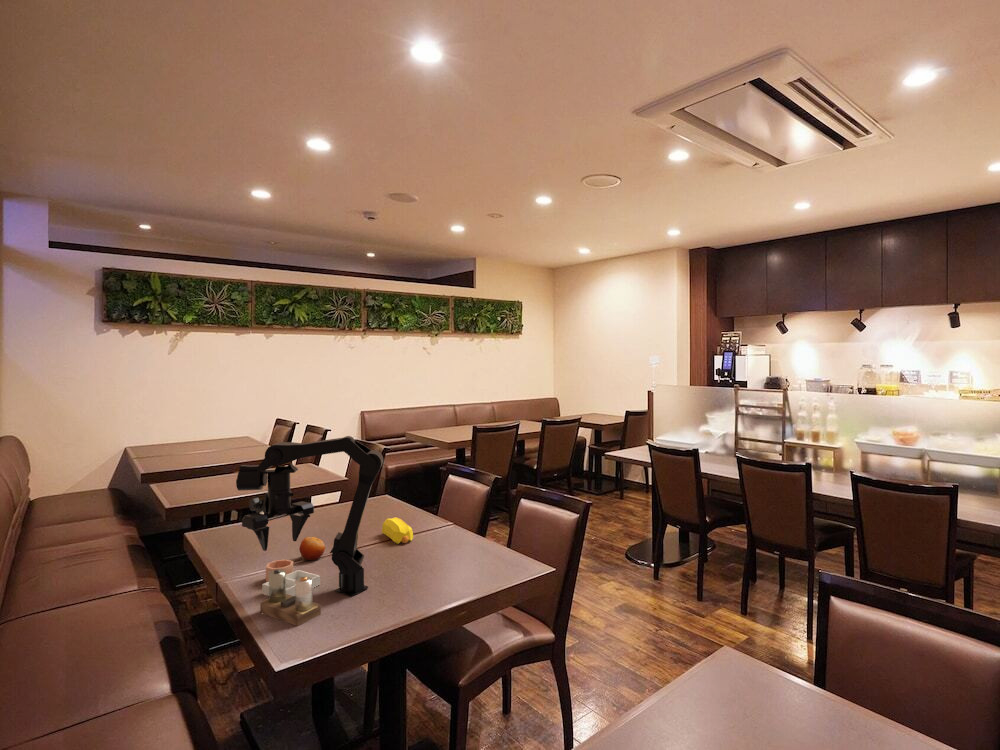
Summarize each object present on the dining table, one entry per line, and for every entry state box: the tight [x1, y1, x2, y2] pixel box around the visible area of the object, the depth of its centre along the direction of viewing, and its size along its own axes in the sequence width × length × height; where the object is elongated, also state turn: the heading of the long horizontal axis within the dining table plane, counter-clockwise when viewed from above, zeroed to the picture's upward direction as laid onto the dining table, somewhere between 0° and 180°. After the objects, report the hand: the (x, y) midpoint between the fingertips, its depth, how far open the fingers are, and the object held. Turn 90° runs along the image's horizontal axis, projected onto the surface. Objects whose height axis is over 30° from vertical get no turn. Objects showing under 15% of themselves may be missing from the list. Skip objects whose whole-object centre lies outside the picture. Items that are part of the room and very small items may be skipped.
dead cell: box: [268, 569, 286, 603], centre depth 137 cm, size 4×4×8 cm
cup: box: [265, 559, 295, 583], centre depth 156 cm, size 7×7×5 cm
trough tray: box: [262, 569, 321, 597], centre depth 149 cm, size 9×12×3 cm
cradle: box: [259, 594, 322, 627], centre depth 134 cm, size 15×7×4 cm, turn 60°
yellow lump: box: [381, 517, 414, 545], centre depth 195 cm, size 18×7×8 cm
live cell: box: [295, 577, 313, 612], centre depth 132 cm, size 4×4×8 cm
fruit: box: [299, 536, 326, 562], centre depth 174 cm, size 8×8×8 cm
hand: (280, 545), depth 146 cm, fingers open, 9 cm apart
